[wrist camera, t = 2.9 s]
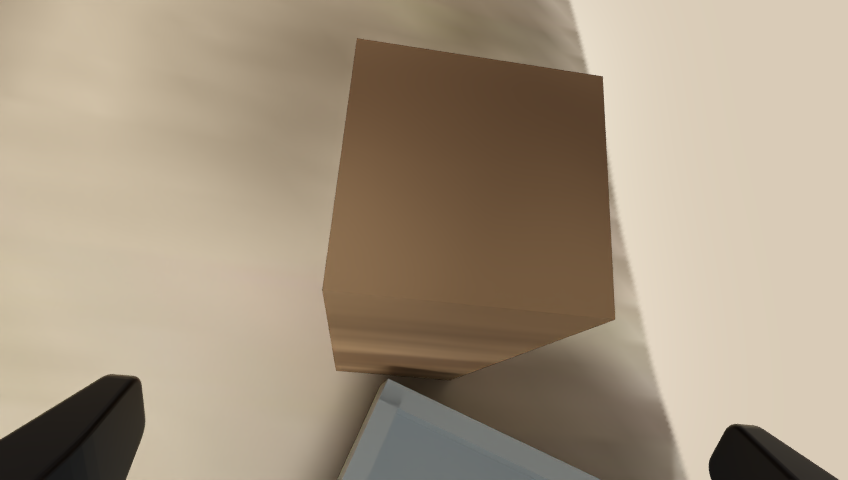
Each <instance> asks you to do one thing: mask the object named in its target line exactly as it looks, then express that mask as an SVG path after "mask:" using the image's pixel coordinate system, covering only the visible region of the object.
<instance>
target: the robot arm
mask: <svg viewBox="0 0 848 480" xmlns="http://www.w3.org/2000/svg"><path fill="white" fill-rule="evenodd" d="M144 428H145V411H144V402H143V393H142V385H141V381H140V379H139V378H138V377H136V376H129V375H116V374H110V375H106V376H103V377H102V378H100V379H98V380H97V381H95V382H93V383H92V384H90V385H88V386H87V387H85V388H84V389H82V390H80V391H79V392H77V393H75V394H74V395H72V396H71V397H69V398H67V399H66V400H64V401H62V402H61V403H59V404H58V405H56V406H54V407H53V408H51V409H49V410H48V411H46V412H44V413H43V414H41V415H40V416H38V417H36V418H35V419H33V420H31V421H30V422H28V423H27V424H25V425H23V426H22V427H20V428H18V429H17V430H15V431H14V432H12V433H10V434H9V435H7V436H5V437H4V438H2V439H0V480H126V478H127V475H128V472H129V470H130V467H131V465H132V462H133V459H134V457H135V454H136V452H137V449H138V446H139V444H140V441H141V439H142V436H143V432H144ZM709 473H710V477H711V479H712V480H838V479H837V478H835V477H834V476H832V475H831V474H829V473H828V472H826V471H825V470H823V469H822V468H820V467H819V466H817V465H816V464H814V463H813V462H811V461H810V460H809V459H807V458H805V457H804V456H803V455H801V454H799V453H798V452H796V451H795V450H793V449H792V448H791V447H789V446H788V445H786V444H784V443H783V442H782V441H780V440H778V439H777V438H776V437H774V436H772V435H771V434H770V433H768V432H766V431H765V430H764V429H762V428H760V427H758V426H754V425H741V424H733V425H730V426H729V427H728V428H727V429H726V430H725V432H724V434H723V435H722V437H721V439H720V441H719V443H718V445H717V447H716V448H715V450H714V452H713V454H712V456H711V458H710V460H709Z"/></svg>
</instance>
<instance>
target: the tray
mask: <svg viewBox="0 0 848 480" xmlns="http://www.w3.org/2000/svg"><path fill="white" fill-rule="evenodd" d="M337 480H600V479H598V478H596V477H594V476H592V475H590V474H588V473H586V472H584V471H582V470H579V469H577V468H575V467H573V466H571V465H569V464H567V463H565V462H563V461H561V460H558V459H556V458H554V457H552V456H550V455H548V454H546V453H544V452H542V451H540V450H537V449H535V448H533V447H531V446H529V445H527V444H525V443H523V442H521V441H518V440H516V439H514V438H512V437H510V436H508V435H506V434H504V433H502V432H500V431H497V430H495V429H493V428H491V427H489V426H487V425H485V424H483V423H481V422H479V421H476V420H474V419H472V418H470V417H468V416H466V415H464V414H462V413H460V412H457V411H455V410H453V409H451V408H449V407H447V406H445V405H443V404H441V403H439V402H436V401H434V400H432V399H430V398H428V397H426V396H424V395H422V394H420V393H418V392H415V391H413V390H411V389H409V388H407V387H405V386H403V385H401V384H399V383H397V382H394V381H392V380H390V379H387V380H386V381H385V382H384V383H383V384H382V385H381V386H380V387H379V389H378V392H377V394H376V396H375V398H374V400H373V403H372V405H371V407H370V409H369V411H368V413H367V416H366V418H365V420H364V422H363V424H362V427H361V429H360V431H359V433H358V435H357V437H356V440H355V442H354V444H353V446H352V448H351V451H350V453H349V455H348V457H347V459H346V461H345V464H344V466H343V468H342V470H341V472H340V475H339V477H338V479H337Z"/></svg>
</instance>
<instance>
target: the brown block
mask: <svg viewBox="0 0 848 480" xmlns="http://www.w3.org/2000/svg"><path fill="white" fill-rule="evenodd" d="M322 291H323V297H324V303H325V308H326V314H327V320H328V326H329V332H330V338H331V344H332V350H333V355H334V361H335V367H336V371H348V372H360V373H371V374H383V375H395V376H407V377H419V378H431V379H443V380H452V379H455V378H458V377H460V376H463V375H466V374H468V373H471V372H474V371H477V370H479V369H482V368H485V367H487V366H490V365H493V364H496V363H498V362H501V361H504V360H506V359H509V358H512V357H515V356H517V355H520V354H523V353H526V352H528V351H531V350H534V349H536V348H539V347H542V346H545V345H547V344H550V343H553V342H555V341H558V340H561V339H564V338H566V337H569V336H572V335H574V334H577V333H580V332H583V331H585V330H588V329H591V328H593V327H596V326H599V325H602V324H604V323H607V322H610V321H612V320H615V305H614V286H613V267H612V247H611V228H610V209H609V189H608V170H607V151H606V132H605V114H604V94H603V77H602V76H596V75H590V74H584V73H577V72H571V71H564V70H558V69H551V68H545V67H538V66H532V65H526V64H519V63H513V62H506V61H500V60H493V59H487V58H480V57H474V56H467V55H461V54H455V53H448V52H442V51H435V50H429V49H422V48H416V47H409V46H403V45H397V44H390V43H384V42H377V41H371V40H364V39H358V38H357V42H356V49H355V57H354V64H353V71H352V78H351V86H350V93H349V100H348V107H347V115H346V122H345V129H344V136H343V144H342V151H341V158H340V166H339V173H338V180H337V187H336V195H335V202H334V209H333V216H332V224H331V231H330V238H329V245H328V253H327V260H326V267H325V274H324V282H323V289H322Z"/></svg>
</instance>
